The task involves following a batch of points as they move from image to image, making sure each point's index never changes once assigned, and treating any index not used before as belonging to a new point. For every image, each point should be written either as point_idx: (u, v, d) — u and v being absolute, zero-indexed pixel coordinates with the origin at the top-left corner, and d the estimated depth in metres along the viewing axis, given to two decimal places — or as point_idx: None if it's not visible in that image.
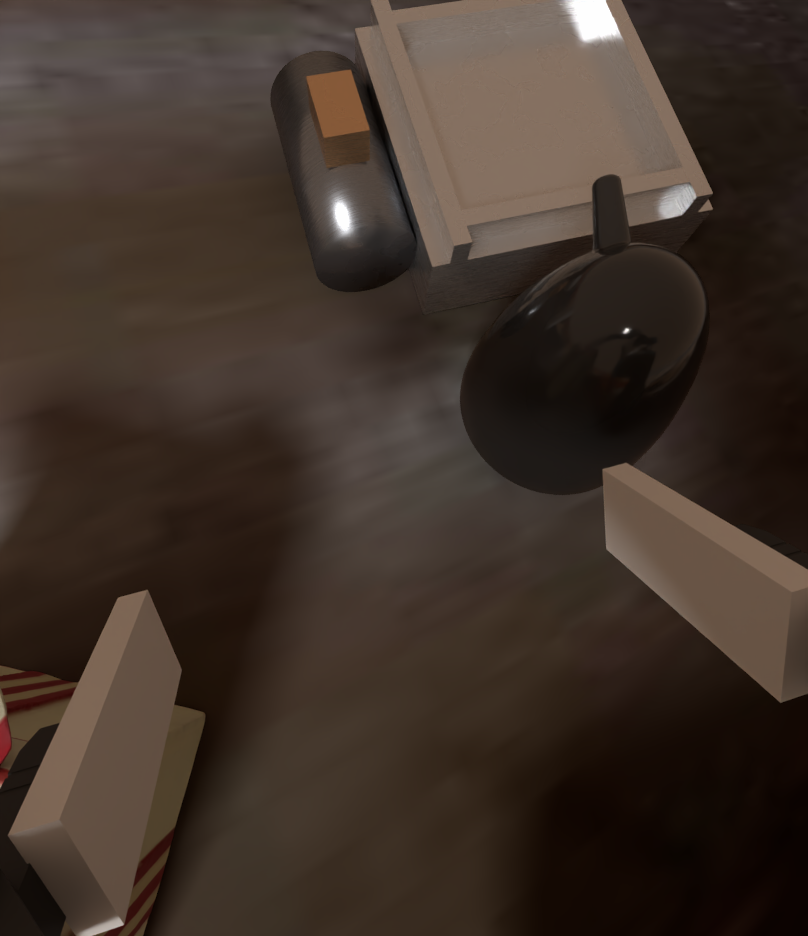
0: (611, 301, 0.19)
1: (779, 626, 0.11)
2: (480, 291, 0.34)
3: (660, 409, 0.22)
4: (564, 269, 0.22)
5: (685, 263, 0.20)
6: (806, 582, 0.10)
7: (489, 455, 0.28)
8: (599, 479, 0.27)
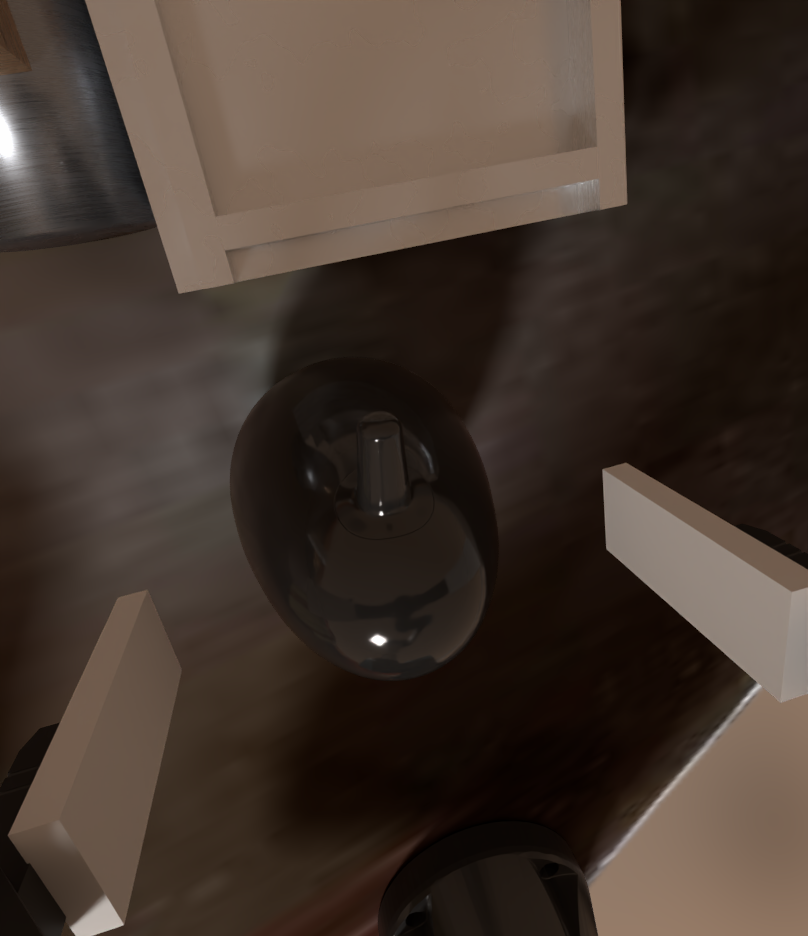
0: (345, 646, 0.14)
1: (779, 626, 0.11)
2: None
3: None
4: (310, 523, 0.15)
5: (458, 589, 0.14)
6: (806, 582, 0.10)
7: None
8: None
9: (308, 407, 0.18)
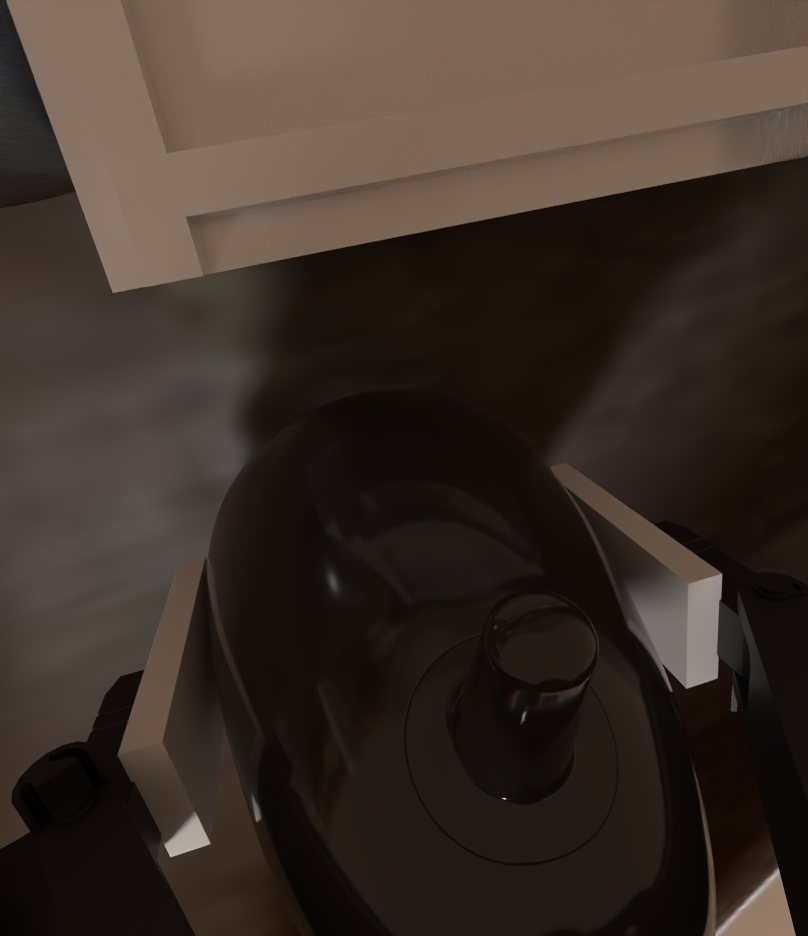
0: None
1: (681, 616, 0.12)
2: None
3: None
4: (353, 787, 0.07)
5: None
6: (702, 574, 0.11)
7: None
8: None
9: (335, 493, 0.11)
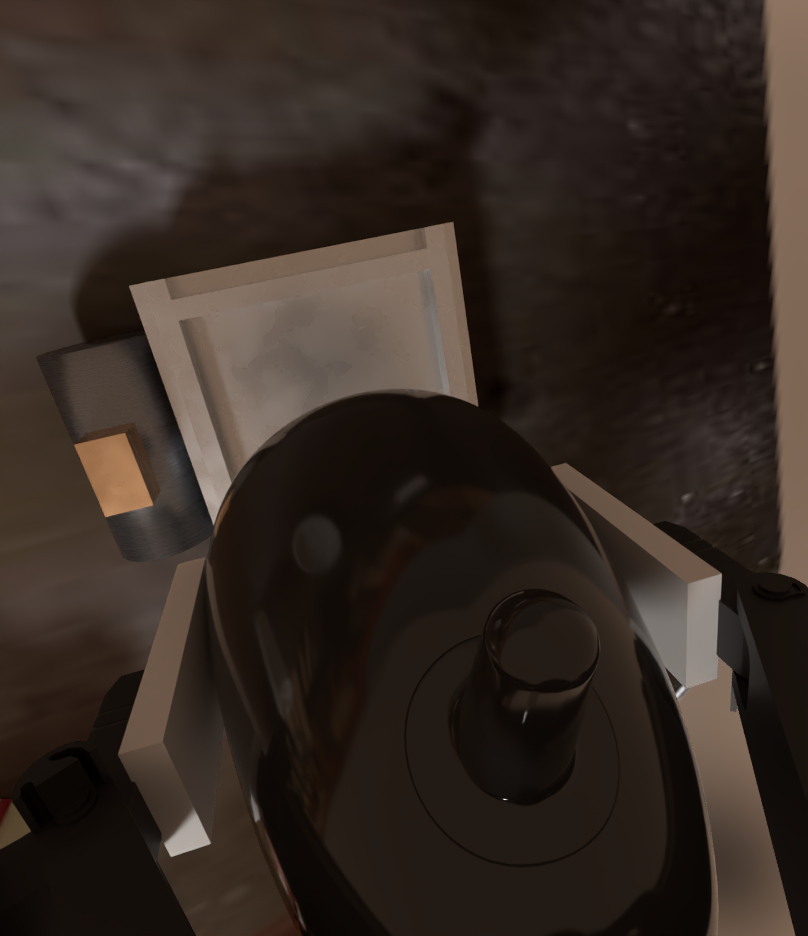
0: None
1: (680, 616, 0.12)
2: None
3: None
4: (353, 788, 0.07)
5: None
6: (702, 575, 0.11)
7: None
8: None
9: (335, 493, 0.10)
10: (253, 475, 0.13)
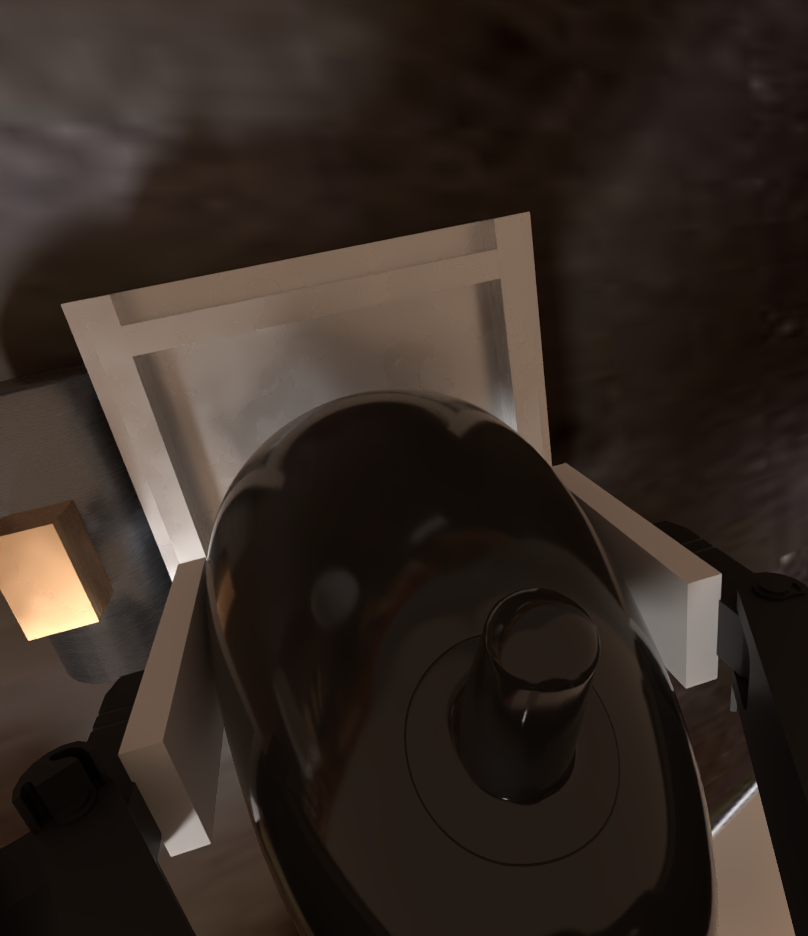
0: None
1: (680, 616, 0.12)
2: None
3: None
4: (353, 788, 0.07)
5: None
6: (702, 574, 0.11)
7: None
8: None
9: (335, 492, 0.10)
10: (253, 475, 0.13)
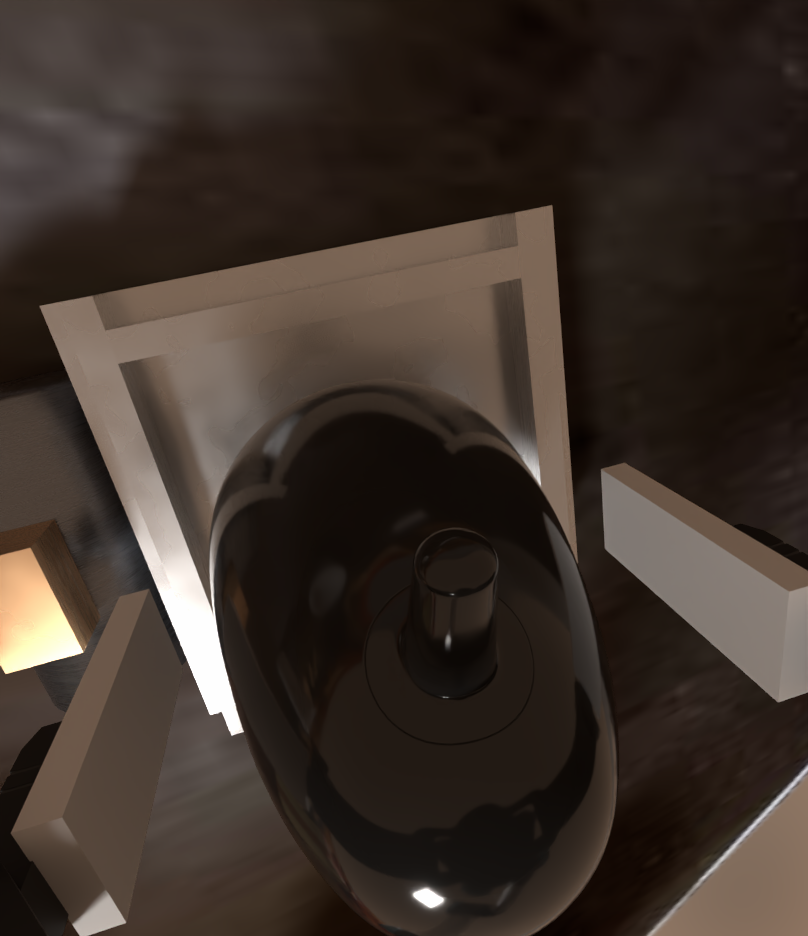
0: (385, 921, 0.08)
1: (776, 626, 0.11)
2: None
3: None
4: (323, 694, 0.09)
5: (583, 828, 0.08)
6: (803, 582, 0.10)
7: None
8: None
9: (319, 467, 0.12)
10: (250, 455, 0.15)
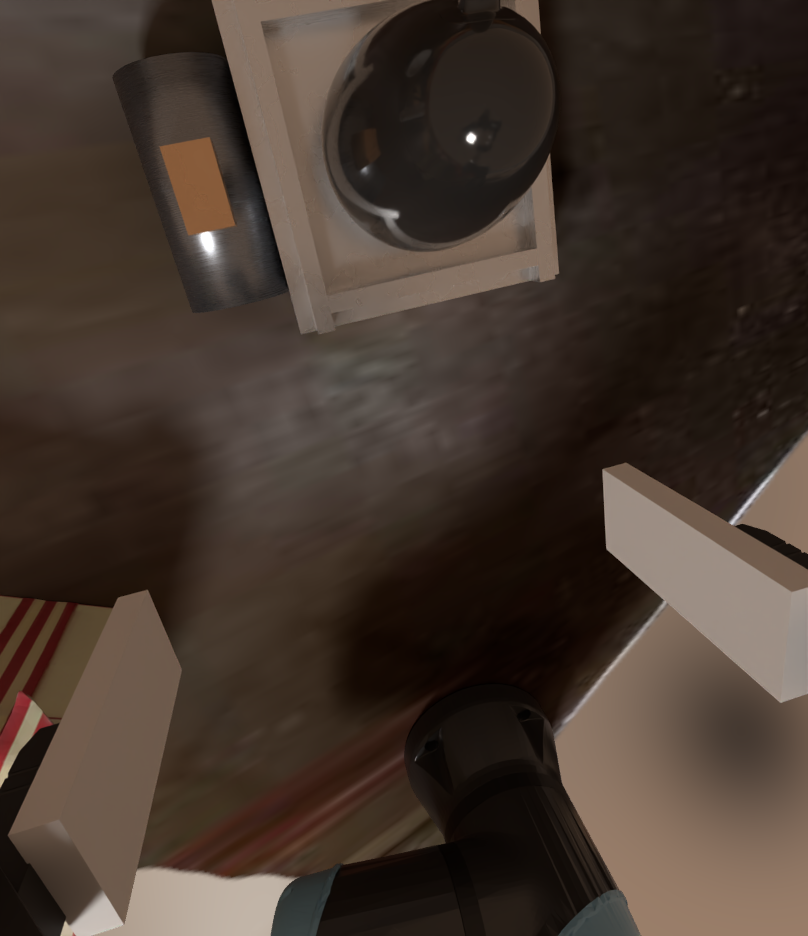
0: (453, 110, 0.19)
1: (779, 626, 0.11)
2: None
3: (495, 211, 0.23)
4: (421, 33, 0.19)
5: (539, 65, 0.18)
6: (806, 582, 0.10)
7: (346, 208, 0.28)
8: (446, 248, 0.28)
9: (402, 8, 0.23)
10: (352, 48, 0.25)
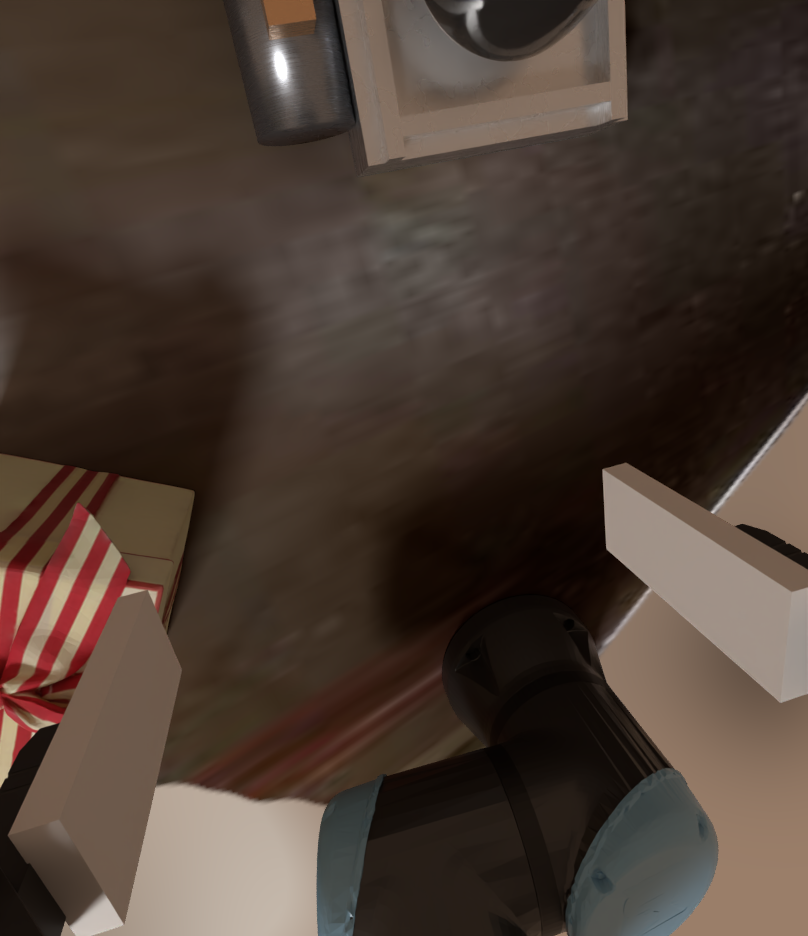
0: None
1: (779, 626, 0.11)
2: (411, 165, 0.37)
3: None
4: None
5: None
6: (806, 582, 0.10)
7: None
8: (533, 42, 0.28)
9: None
10: None
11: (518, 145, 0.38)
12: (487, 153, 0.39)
